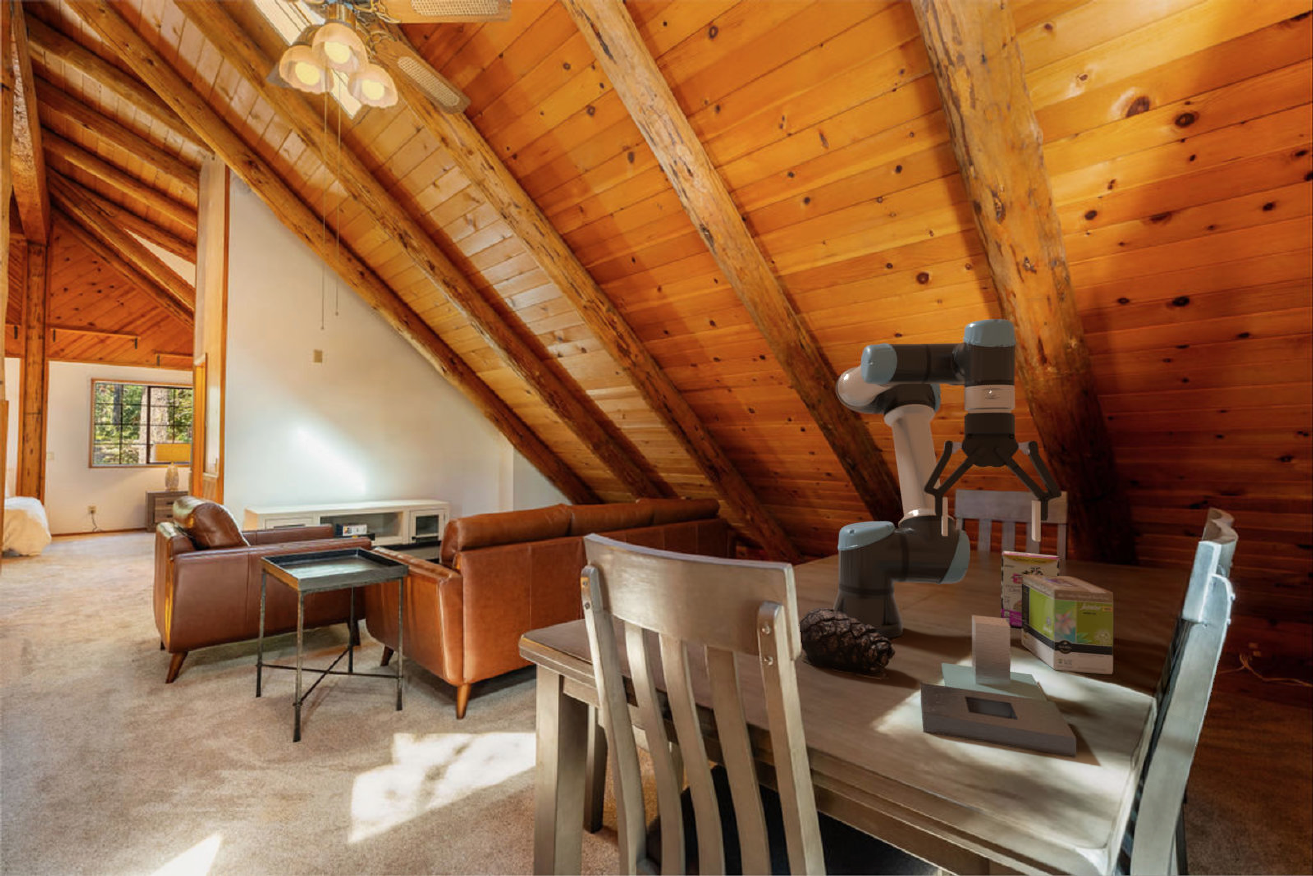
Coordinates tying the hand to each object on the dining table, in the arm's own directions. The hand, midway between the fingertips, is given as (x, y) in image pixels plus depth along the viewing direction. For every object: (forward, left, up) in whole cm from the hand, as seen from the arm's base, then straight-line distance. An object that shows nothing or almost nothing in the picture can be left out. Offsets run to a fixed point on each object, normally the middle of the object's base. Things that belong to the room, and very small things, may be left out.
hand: (989, 537), depth 101 cm
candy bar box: (+13, +41, -25) cm, 50 cm away
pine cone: (-23, 0, -25) cm, 34 cm away
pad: (0, -1, -25) cm, 25 cm away
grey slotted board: (-2, -17, -25) cm, 30 cm away
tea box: (+15, +20, -25) cm, 36 cm away
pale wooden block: (0, -1, -24) cm, 24 cm away
